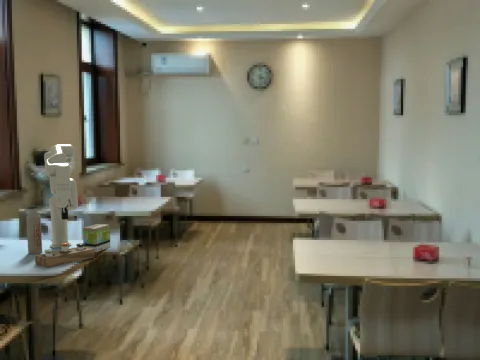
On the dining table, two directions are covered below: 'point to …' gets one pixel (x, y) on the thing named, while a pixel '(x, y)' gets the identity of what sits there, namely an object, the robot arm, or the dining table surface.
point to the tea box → (97, 237)
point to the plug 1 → (48, 253)
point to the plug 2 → (80, 246)
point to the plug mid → (65, 247)
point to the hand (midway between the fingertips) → (64, 219)
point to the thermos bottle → (34, 231)
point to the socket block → (64, 257)
